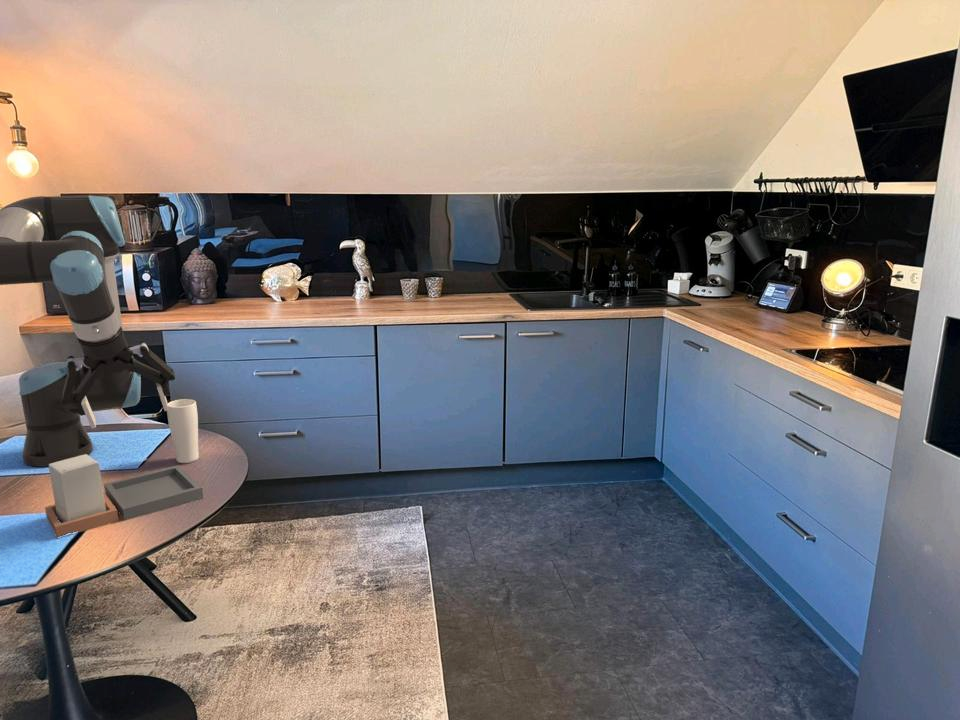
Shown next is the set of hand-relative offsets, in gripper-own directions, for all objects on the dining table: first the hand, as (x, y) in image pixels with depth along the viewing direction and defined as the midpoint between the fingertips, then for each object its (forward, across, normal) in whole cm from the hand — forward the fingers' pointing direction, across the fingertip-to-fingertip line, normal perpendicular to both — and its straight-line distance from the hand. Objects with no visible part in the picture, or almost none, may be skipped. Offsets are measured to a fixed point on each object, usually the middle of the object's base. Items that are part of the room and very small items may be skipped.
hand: (130, 415), depth 139 cm
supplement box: (+18, -14, -7) cm, 24 cm away
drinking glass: (+31, +6, +15) cm, 35 cm away
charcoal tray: (+22, -1, -2) cm, 22 cm away
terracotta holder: (+18, -14, -7) cm, 24 cm away
